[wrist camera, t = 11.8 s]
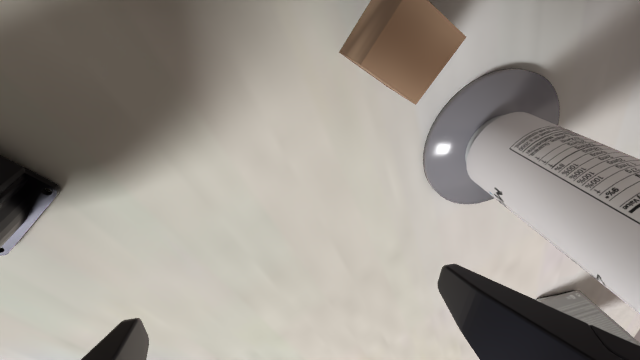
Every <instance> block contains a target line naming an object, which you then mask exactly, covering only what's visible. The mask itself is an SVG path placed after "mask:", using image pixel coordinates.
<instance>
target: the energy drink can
mask: <svg viewBox="0 0 640 360" xmlns="http://www.w3.org/2000/svg"><path fill="white" fill-rule="evenodd" d="M465 160H466V164H467V172H468V175H469V176H470V178H471V179H472V180H473V181H474V182H475V183H476V184H478V185H479V186H480V187H481V188H483V189H484V190H485V191H486V192H488V193H489V194H490V195H491V196H493V197H494V198H495V199H496V200H498V201H499V202H500V203H501V204H503V205H504V206H505V207H506V208H508V209H509V210H510V211H511V212H513V213H514V214H515V215H516V216H518V217H519V218H520V219H521V220H523V221H524V222H525V223H526V224H528V225H529V226H530V227H531V228H533V229H534V230H535V231H536V232H538V233H539V234H540V235H541V236H543V237H544V238H545V239H546V240H548V241H549V242H550V243H551V244H553V245H554V246H555V247H556V248H558V249H559V250H560V251H561V252H563V253H564V254H565V255H566V256H568V257H569V258H570V259H571V260H573V261H574V262H575V263H576V264H578V265H579V266H580V267H581V268H583V269H584V270H585V271H586V272H588V273H589V274H590V275H591V276H593V277H594V278H595V279H596V280H598V281H599V282H600V283H601V284H603V285H604V286H605V287H606V288H608V289H609V290H610V291H611V292H613V293H614V294H615V295H616V296H618V297H619V298H620V299H621V300H623V301H624V302H625V303H626V304H628V305H629V306H630V307H631V308H633V309H634V310H635V311H636V312H638V313H639V314H640V160H639V159H637V158H635V157H632V156H630V155H627V154H625V153H623V152H620V151H618V150H615V149H613V148H611V147H608V146H606V145H603V144H601V143H599V142H596V141H594V140H591V139H589V138H587V137H584V136H582V135H579V134H577V133H574V132H572V131H570V130H567V129H565V128H562V127H560V126H558V125H555V124H553V123H550V122H548V121H546V120H543V119H541V118H538V117H536V116H534V115H531V114H529V113H525V112H514V113H509V114H506V115H501V116H497V117H495V118H492V119H491V120H489V121H487V122H486V123H484V124H483V125H482V126H481V127H480V128H479V129H478V130H477V131H476V132H475V133H474V135H473V136H472V137H471V139H470V141H469V143H468V146H467V148H466V154H465Z"/></svg>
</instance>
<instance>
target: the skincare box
mask: <svg viewBox="0 0 640 360" xmlns="http://www.w3.org/2000/svg"><path fill="white" fill-rule="evenodd" d="M537 301H539V302H541V303H543V304H546V305H548V306H550V307H552V308H555V309H557V310H559V311H561V312H564V313H566V314H568V315H570V316H572V317H575V318H577V319H579V320H581V321H584V322H586V323H588V324H589V325H593V326H596V327H598V328H600V329H602V330H604V331H607V332H609V333H611V334H614V335H616V336H618V337H620V338H623V339H625V340H627V341H630V342H632V343H634V344H637V345H639V346H640V343H639V342H638V341H637V340H636V339H634V338H633V337H632V336H631V335H630V334H629V333H628V332H626V331H625V330H624V329H623V328H622V327H621V326H619V325H618V324H617V323H616V322H615V321H614V320H613V319H611V318H610V317H609V316H608V315H607V314H606V313H604V312H603V311H602V310H601V309H600V308H599V307H598V306H596V305H595V304H594V303H593V302H592V301H590V300H589V299H588V298H587V297H586V296H585V295H584V294H582V293H581V292H580V291H578V290H577V291H572V292H568V293H564V294H560V295H556V296H551V297H546V298H540V299H537Z"/></svg>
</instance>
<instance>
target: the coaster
mask: <svg viewBox="0 0 640 360" xmlns="http://www.w3.org/2000/svg"><path fill="white" fill-rule="evenodd" d="M559 110H560V108H559V100H558V96H557V93H556V91H555V89H554V87H553V86H552V85H551V83H550V82H549V81H548V80H547V79H546V78H544V77H543V76H541V75H539V74H537V73H534V72H530V71H527V70H523V69H514V68H513V69H503V70H498V71H494V72H492V73H489V74H486V75H484V76H482V77H480V78H478V79H476V80H474V81H473V82H471V83H470V84H468V85H467V86H465V87H464V88H463V89H462V90H460V91H459V92H458V93H457V94H456V95H455V96H454V97H453V98H452V99H451V100H450V101H449V102H448V103H447V104H446V105H445V107H444V108H443V109H442V111H441V112H440V113H439V115H438V116H437V118H436V120H435V121H434V123H433V125H432V127H431V129H430V132H429V134H428V136H427V140H426V143H425V147H424V153H423V165H424V171H425V175H426V178H427V180H428V182H429V184H430V185H431V186H432V188H433V189H434V190H435V191H436V192H437V193H438V194H439V195H440V196H442V197H443V198H445V199H446V200H449V201H451V202H455V203H459V204H475V203H481V202H484V201H488V200H491V199H493V198H494V197H493V196H491V195H490V194H489V193H488V192H486V191H485V190H484V189H483V188H481V187H480V186H479V185H478V184H476V183H475V182H474V181H473V180H472V179H471V178H470V176H469V175H468V172H467V164H466V160H465V154H466V148H467V146H468V143H469V141H470V139H471V137H472V136H473V135H474V133H475V132H476V131H477V130H478V129H479V128H480V127H481V126H482V125H483V124H484V123H486V122H487V121H489V120H491V119H492V118H495V117H497V116H501V115H506V114H509V113H514V112H525V113H529V114H531V115H534V116H536V117H538V118H541V119H543V120H546V121H548V122H550V123H553V124H555V125H558V121H559Z"/></svg>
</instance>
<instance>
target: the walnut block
mask: <svg viewBox="0 0 640 360" xmlns="http://www.w3.org/2000/svg"><path fill="white" fill-rule="evenodd" d="M465 38H466V36H465V35H464V34H463V33H462V32H461V31H460V30H458V29H457V28H456V27H455V26H454V25H453V24H452V23H451V22H450V21H449V20H448V19H447V18H446V17H445V16H444V15H443V14H442V13H441V12H440V11H439V10H438V9H437V8H435V7H434V6H433V5H432V4H431V3H430V2H429V1H428V0H371V1H370V3H369V4H368V6H367V8H366V9H365V11H364V13H363V14H362V16H361V18H360V19H359V21H358V22H357V24H356V26H355V27H354V29H353V31H352V32H351V34H350V35H349V37H348V39H347V40H346V42H345V44H344V45H343V47H342V48H341V50H340V52H339V53H341V54H342V55H344V56H345V57H346V58H348V59H349V60H351V61H352V62H353V63H355V64H356V65H358V66H359V67H360V68H362V69H363V70H365V71H366V72H367V73H369V74H370V75H372V76H373V77H374V78H376V79H377V80H379V81H380V82H382V83H383V84H384V85H386V86H387V87H389V88H390V89H392V90H393V91H395V92H397V93H398V94H400V95H401V96H403V97H404V98H406V99H408V100H409V101H411V102H412V103H414V104H415V105H416V104H417V102H418V101H419V100H420V98H421V97H422V96H423V94H424V93H425V92H426V90H427V89H428V88H429V86H430V85H431V84H432V82H433V81H434V80H435V78H436V77H437V76H438V74H439V73H440V72H441V70H442V69H443V68H444V66H445V65H446V64H447V62H448V61H449V60H450V58H451V57H452V56H453V54H454V53H455V51H456V50H457V49H458V47H459V46H460V45H461V43H462V42H463V41H464V39H465Z"/></svg>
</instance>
